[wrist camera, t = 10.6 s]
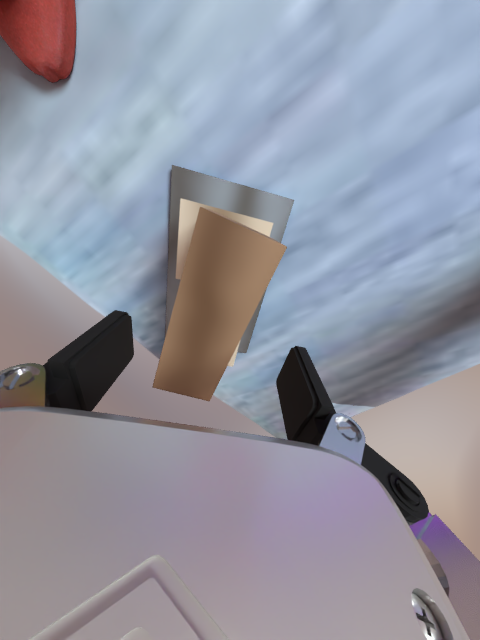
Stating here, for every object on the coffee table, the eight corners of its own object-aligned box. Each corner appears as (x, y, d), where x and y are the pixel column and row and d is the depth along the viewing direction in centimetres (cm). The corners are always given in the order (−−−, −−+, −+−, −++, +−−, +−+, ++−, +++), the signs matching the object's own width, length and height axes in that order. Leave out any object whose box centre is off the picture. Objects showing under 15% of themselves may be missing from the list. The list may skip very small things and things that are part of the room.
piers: (292, 200, 19) (317, 193, 13) (246, 350, 28) (248, 384, 23) (173, 166, 17) (143, 141, 12) (166, 337, 27) (147, 369, 21)
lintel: (271, 237, 15) (287, 246, 10) (214, 362, 21) (209, 401, 16) (211, 209, 14) (200, 206, 9) (170, 349, 20) (152, 387, 15)
